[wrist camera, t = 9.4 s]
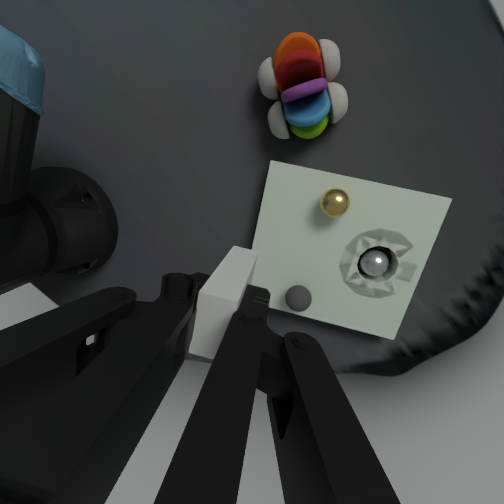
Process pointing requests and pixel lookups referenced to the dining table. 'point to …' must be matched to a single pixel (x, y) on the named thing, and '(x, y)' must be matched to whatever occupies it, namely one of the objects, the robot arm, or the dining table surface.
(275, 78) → the rainbow disc rolling toy
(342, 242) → the pale green flat slab
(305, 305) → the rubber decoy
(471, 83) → the dining table surface
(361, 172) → the dining table surface
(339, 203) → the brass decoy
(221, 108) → the dining table surface
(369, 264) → the steel ball
